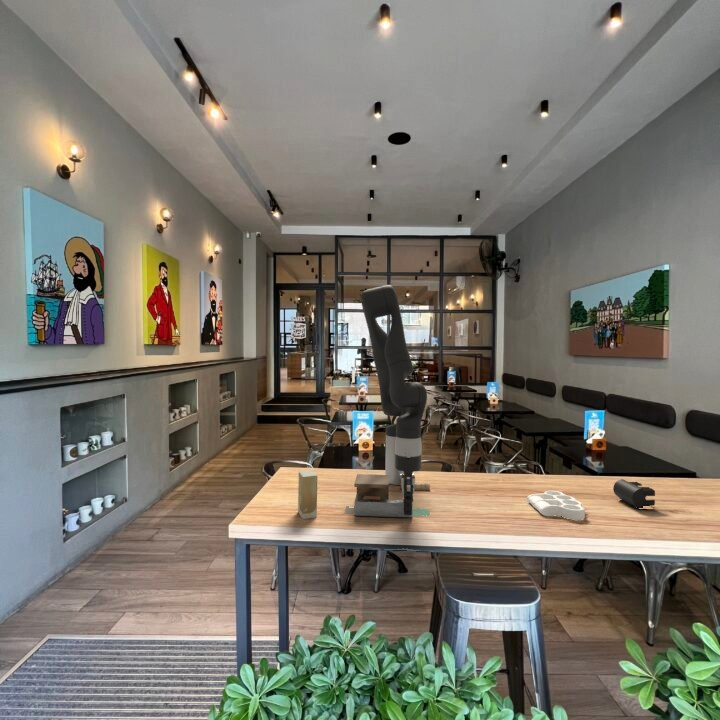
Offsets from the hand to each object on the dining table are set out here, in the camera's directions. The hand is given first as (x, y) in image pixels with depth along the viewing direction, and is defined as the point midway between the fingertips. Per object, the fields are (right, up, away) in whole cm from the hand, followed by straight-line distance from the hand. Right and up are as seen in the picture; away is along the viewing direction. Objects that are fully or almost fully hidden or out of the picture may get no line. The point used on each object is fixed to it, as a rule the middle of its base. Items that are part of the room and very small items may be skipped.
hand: (407, 512), depth 122 cm
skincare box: (-29, -1, +2) cm, 29 cm away
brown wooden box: (-10, -1, +7) cm, 12 cm away
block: (-10, -1, +5) cm, 11 cm away
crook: (-7, -1, +3) cm, 7 cm away
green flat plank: (-6, -1, +5) cm, 8 cm away
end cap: (+73, -2, +12) cm, 74 cm away
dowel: (+6, -1, +26) cm, 27 cm away
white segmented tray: (+47, -2, +8) cm, 47 cm away
